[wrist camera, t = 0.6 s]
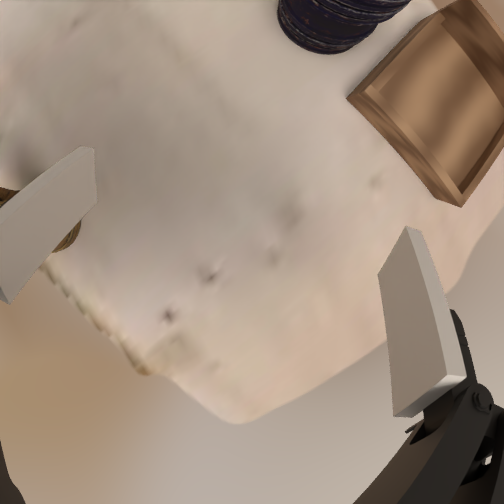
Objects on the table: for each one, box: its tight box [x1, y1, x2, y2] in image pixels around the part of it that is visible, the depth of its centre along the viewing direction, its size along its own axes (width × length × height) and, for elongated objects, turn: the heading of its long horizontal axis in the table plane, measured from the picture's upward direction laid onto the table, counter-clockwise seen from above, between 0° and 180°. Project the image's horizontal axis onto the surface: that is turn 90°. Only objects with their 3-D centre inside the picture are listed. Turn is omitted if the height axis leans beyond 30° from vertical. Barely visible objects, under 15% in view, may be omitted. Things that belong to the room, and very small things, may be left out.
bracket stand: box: [346, 0, 504, 208], centre depth 24 cm, size 16×16×11 cm
